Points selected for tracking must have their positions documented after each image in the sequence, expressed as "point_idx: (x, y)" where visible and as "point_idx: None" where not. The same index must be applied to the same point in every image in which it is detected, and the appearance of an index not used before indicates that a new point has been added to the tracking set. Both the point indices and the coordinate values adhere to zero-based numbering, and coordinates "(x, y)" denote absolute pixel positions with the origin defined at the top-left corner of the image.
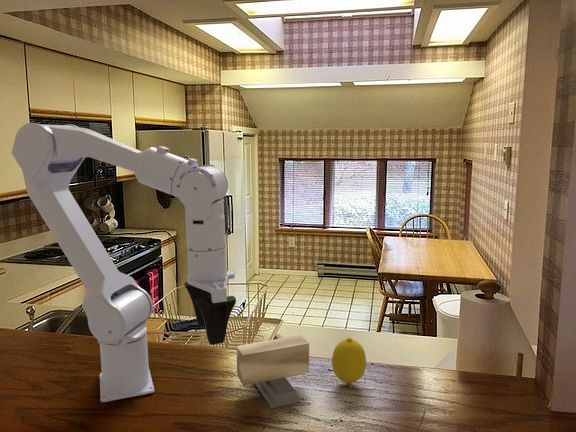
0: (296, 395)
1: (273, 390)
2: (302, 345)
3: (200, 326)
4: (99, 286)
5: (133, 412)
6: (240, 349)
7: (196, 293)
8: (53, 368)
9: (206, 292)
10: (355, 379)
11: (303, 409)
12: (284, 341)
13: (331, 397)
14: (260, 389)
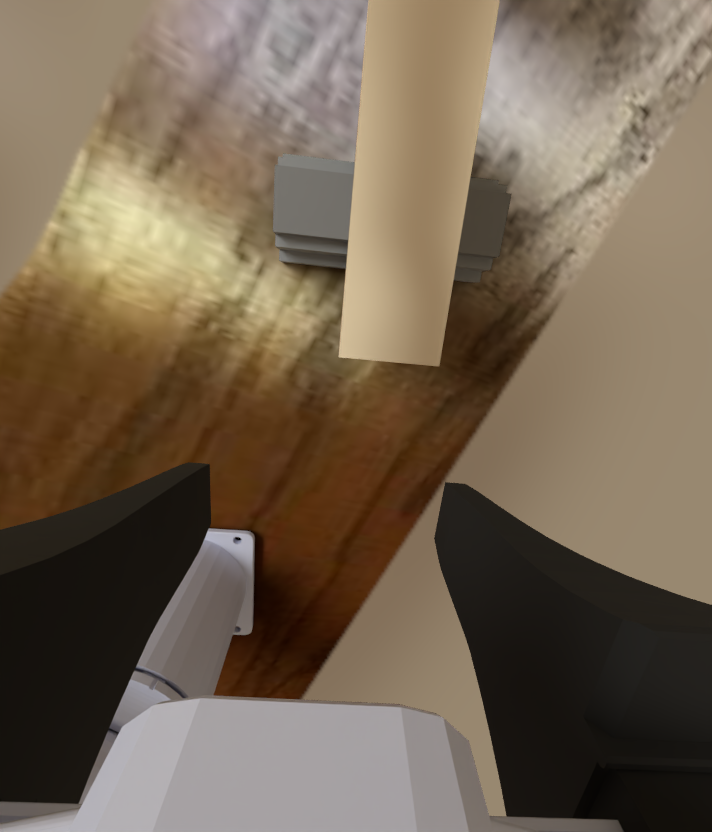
0: (483, 181)
1: (461, 258)
2: (497, 10)
3: (209, 518)
4: None
5: (318, 578)
6: (382, 354)
7: (88, 716)
8: None
9: (77, 642)
10: None
11: (530, 193)
12: (407, 93)
13: (527, 53)
14: None
